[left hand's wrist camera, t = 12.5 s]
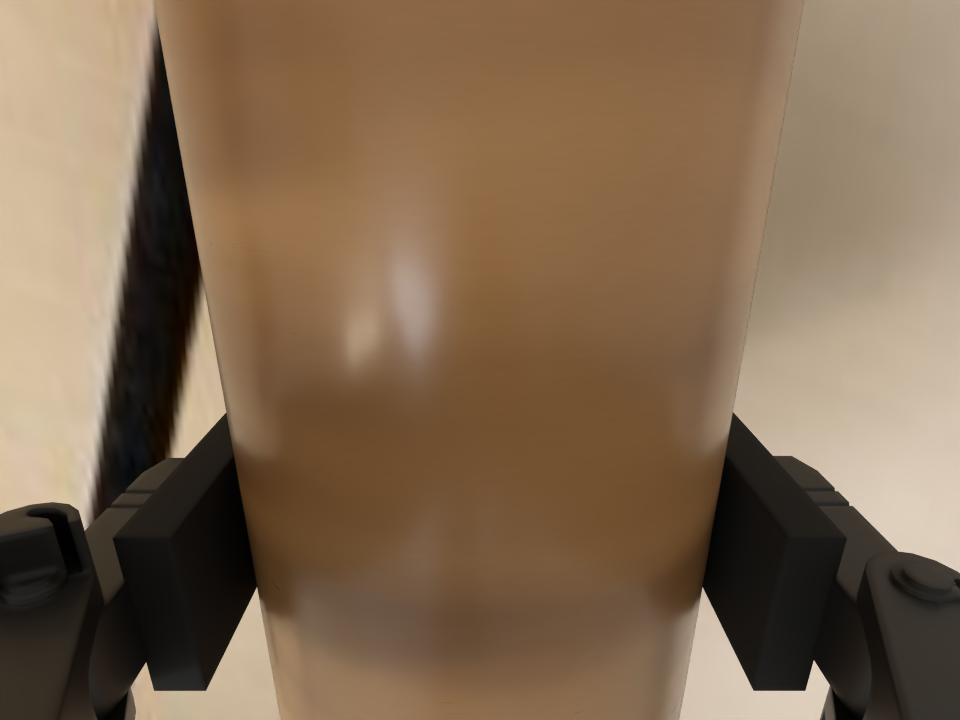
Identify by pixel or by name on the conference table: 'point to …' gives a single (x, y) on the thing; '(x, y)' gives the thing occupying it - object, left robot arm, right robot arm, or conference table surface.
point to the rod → (479, 331)
